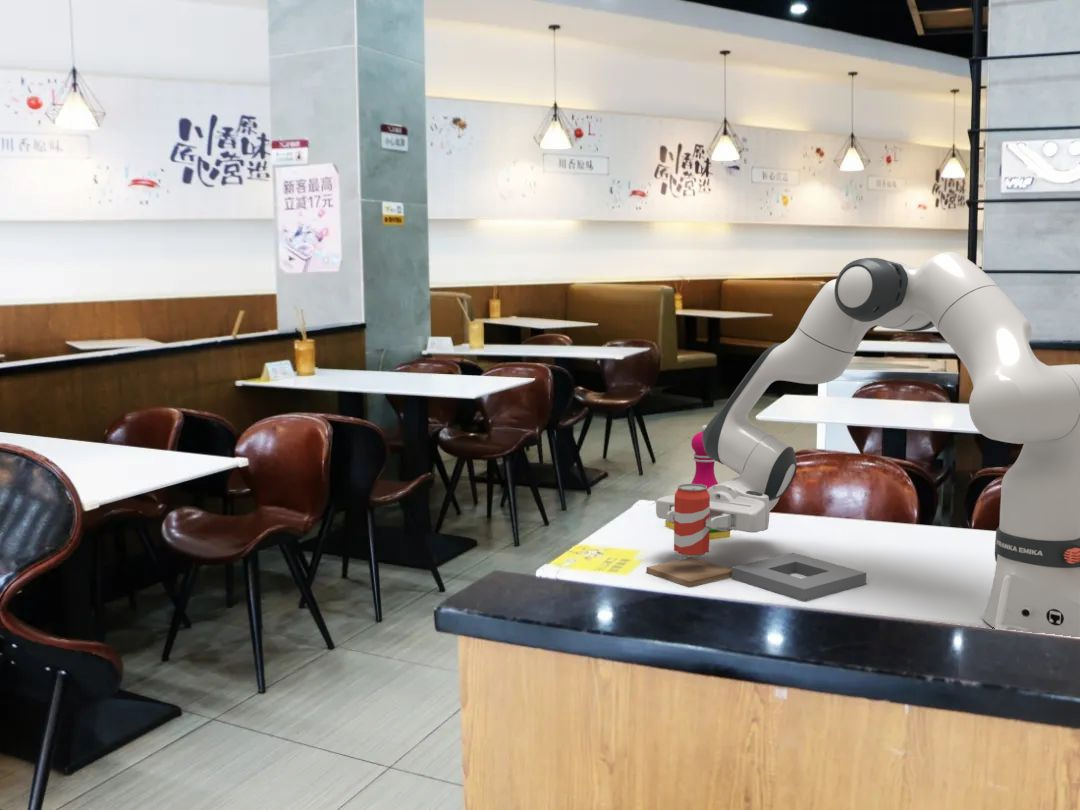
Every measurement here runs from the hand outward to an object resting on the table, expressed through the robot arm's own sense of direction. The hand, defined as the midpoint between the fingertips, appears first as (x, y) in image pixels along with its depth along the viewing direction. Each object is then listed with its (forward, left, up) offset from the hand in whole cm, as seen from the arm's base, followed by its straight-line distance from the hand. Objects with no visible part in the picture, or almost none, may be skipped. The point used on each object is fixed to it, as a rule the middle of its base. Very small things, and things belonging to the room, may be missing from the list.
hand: (689, 520), depth 181 cm
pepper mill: (+32, -36, -10) cm, 49 cm away
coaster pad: (0, -1, -10) cm, 10 cm away
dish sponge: (+22, -24, -10) cm, 34 cm away
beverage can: (0, -1, -6) cm, 6 cm away
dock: (-14, -13, -10) cm, 21 cm away
